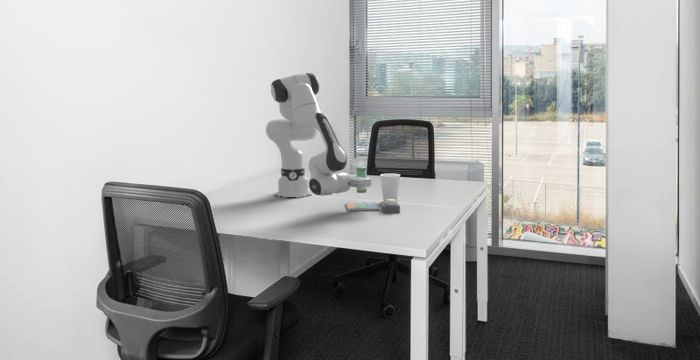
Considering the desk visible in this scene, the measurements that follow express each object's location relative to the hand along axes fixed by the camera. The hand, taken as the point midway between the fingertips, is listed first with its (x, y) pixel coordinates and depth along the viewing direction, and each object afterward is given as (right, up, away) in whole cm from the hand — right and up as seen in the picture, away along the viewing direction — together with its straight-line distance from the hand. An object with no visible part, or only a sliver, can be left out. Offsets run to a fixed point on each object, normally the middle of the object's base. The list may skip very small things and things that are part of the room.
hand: (362, 178), depth 246 cm
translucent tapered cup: (+13, -11, +13) cm, 22 cm away
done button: (+12, -13, -8) cm, 19 cm away
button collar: (+12, -14, -8) cm, 20 cm away
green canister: (-1, -6, 0) cm, 6 cm away
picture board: (0, -13, +1) cm, 13 cm away
